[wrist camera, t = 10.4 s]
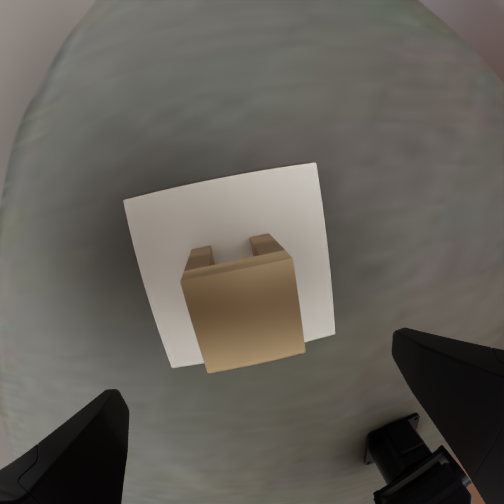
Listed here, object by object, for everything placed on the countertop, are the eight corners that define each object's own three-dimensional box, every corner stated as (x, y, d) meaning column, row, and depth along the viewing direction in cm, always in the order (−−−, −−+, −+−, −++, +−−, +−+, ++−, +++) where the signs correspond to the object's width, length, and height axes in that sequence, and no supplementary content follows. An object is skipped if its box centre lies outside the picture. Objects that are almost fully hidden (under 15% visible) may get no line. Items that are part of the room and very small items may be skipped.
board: (330, 327, 22) (335, 334, 21) (173, 360, 21) (172, 367, 20) (311, 163, 19) (315, 162, 18) (127, 199, 18) (122, 200, 17)
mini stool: (281, 304, 20) (305, 352, 14) (209, 319, 19) (207, 373, 13) (268, 233, 18) (292, 257, 13) (191, 249, 18) (180, 281, 12)
